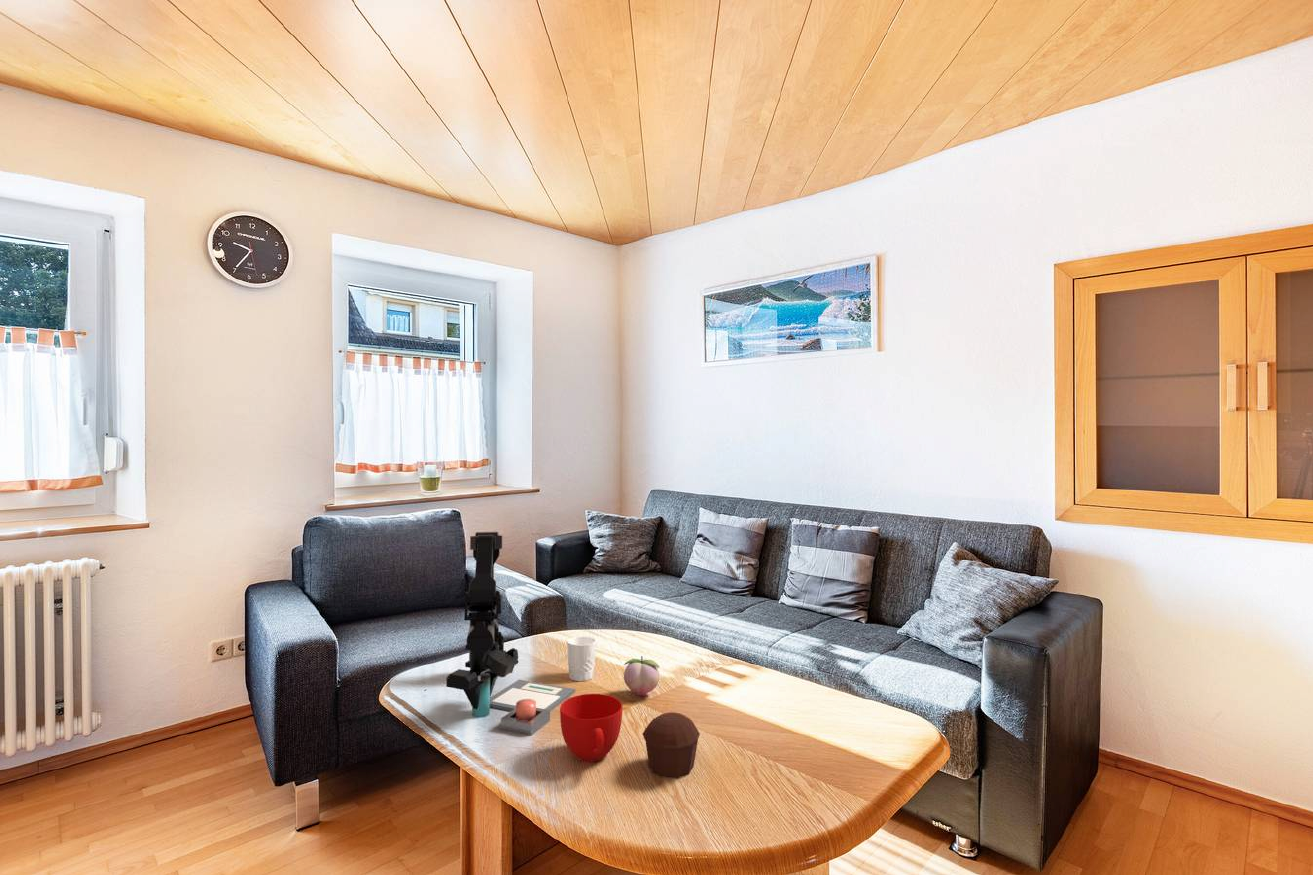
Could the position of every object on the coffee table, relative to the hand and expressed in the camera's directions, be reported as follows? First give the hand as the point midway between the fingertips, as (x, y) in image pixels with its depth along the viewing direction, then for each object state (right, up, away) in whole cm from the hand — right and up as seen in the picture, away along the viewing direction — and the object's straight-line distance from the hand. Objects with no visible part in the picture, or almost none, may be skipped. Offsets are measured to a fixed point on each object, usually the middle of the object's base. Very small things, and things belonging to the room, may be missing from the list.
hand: (481, 705), depth 150 cm
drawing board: (+10, -2, +9) cm, 14 cm away
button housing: (+12, -2, -6) cm, 13 cm away
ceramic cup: (+29, -3, -20) cm, 35 cm away
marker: (0, -2, 0) cm, 2 cm away
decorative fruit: (+38, -3, +12) cm, 40 cm away
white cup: (+21, -3, +24) cm, 32 cm away
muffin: (+45, -3, -23) cm, 50 cm away
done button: (+12, -1, -6) cm, 13 cm away
